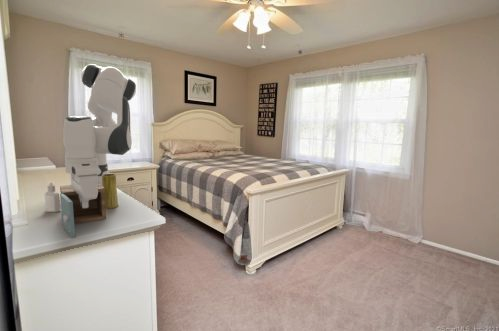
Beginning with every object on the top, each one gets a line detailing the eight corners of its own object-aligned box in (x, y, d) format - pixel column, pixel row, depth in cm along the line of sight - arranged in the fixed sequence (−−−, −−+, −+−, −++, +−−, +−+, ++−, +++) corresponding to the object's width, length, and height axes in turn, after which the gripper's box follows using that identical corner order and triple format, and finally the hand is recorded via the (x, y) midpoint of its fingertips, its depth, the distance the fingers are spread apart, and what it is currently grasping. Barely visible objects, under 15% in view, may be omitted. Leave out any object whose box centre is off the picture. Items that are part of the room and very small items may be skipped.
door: (65, 224, 92) (63, 193, 90) (75, 236, 83) (72, 201, 81) (58, 226, 90) (55, 194, 89) (67, 238, 81) (64, 203, 80)
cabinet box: (62, 216, 102) (60, 186, 100) (100, 210, 110) (98, 182, 108) (64, 225, 93) (62, 192, 91) (106, 218, 101) (104, 188, 99)
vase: (111, 209, 112) (109, 176, 110) (99, 208, 113) (97, 175, 111) (121, 205, 118) (119, 173, 116) (109, 204, 119) (107, 173, 117)
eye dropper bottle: (47, 213, 104) (45, 184, 103) (45, 210, 108) (43, 181, 107) (61, 211, 108) (58, 182, 106) (58, 208, 111) (56, 180, 110)
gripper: (64, 163, 91) (67, 201, 93) (77, 171, 76) (80, 217, 78) (85, 161, 95) (87, 198, 97) (101, 169, 81) (103, 212, 83)
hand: (84, 207), depth 88 cm, fingers closed
